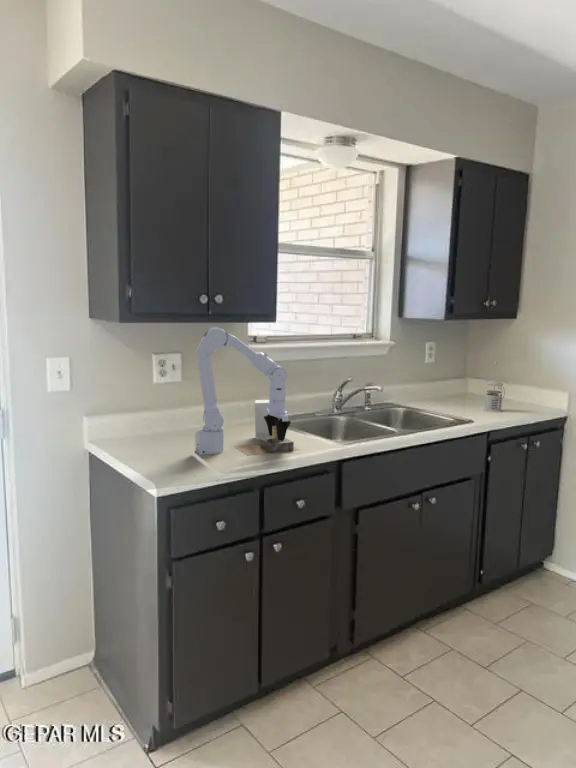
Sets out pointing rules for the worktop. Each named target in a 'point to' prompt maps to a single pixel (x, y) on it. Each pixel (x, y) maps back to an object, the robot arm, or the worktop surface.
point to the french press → (494, 397)
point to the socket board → (255, 449)
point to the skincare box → (261, 419)
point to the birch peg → (274, 434)
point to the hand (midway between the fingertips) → (276, 437)
